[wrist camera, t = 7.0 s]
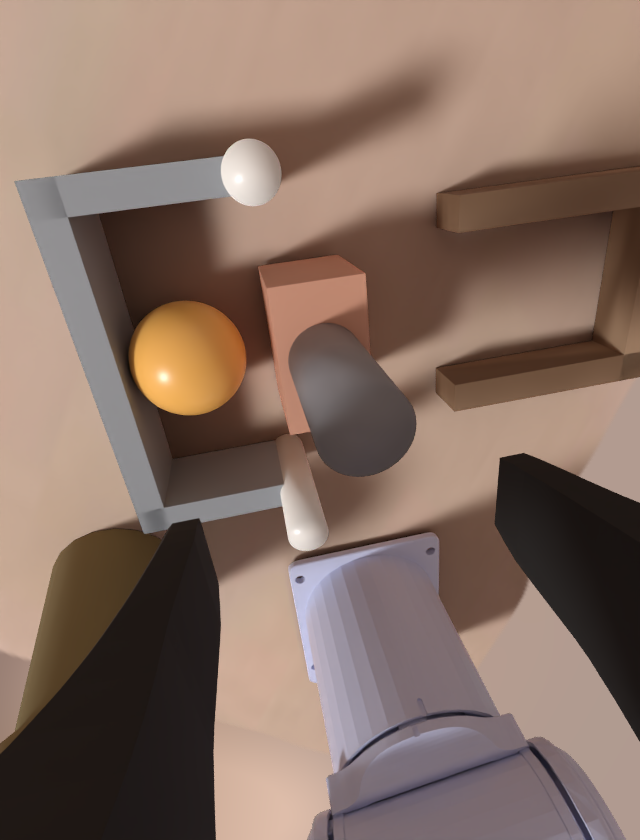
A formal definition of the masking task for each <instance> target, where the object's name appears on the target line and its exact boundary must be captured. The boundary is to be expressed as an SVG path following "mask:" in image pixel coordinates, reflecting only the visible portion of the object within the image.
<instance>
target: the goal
mask: <svg viewBox="0 0 640 840" xmlns="http://www.w3.org/2000/svg"><path fill="white" fill-rule="evenodd" d="M281 176H282V173H281V166H280V162H279V160H278V157H277V156H276V154H275V153H274V151H273V150H272V149H271V148H270V147H269V146H268V145H267V144H265V143H264V142H262V141H259V140H256V139H242V140H239V141H237V142H235V143H234V144H233V145H231V146H230V147H229V148H228V150H227V151H226V153H225V155H224V156H220V157H212V158H204V159H195V160H187V161H179V162H170V163H162V164H154V165H145V166H137V167H129V168H120V169H112V170H104V171H95V172H87V173H79V174H70V175H62V176H54V177H45V178H37V179H29V180H20V181H14V182H15V184H16V187H17V190H18V193H19V195H20V198H21V201H22V204H23V206H24V209H25V212H26V214H27V217H28V220H29V223H30V225H31V228H32V231H33V233H34V236H35V239H36V242H37V244H38V247H39V250H40V252H41V255H42V258H43V261H44V263H45V266H46V269H47V272H48V274H49V277H50V280H51V282H52V285H53V288H54V291H55V293H56V296H57V299H58V301H59V304H60V307H61V310H62V312H63V315H64V318H65V320H66V323H67V326H68V329H69V331H70V334H71V337H72V340H73V342H74V345H75V348H76V350H77V353H78V356H79V359H80V361H81V364H82V367H83V369H84V372H85V375H86V378H87V380H88V383H89V386H90V388H91V391H92V394H93V397H94V399H95V402H96V405H97V408H98V410H99V413H100V416H101V418H102V421H103V424H104V427H105V429H106V432H107V435H108V437H109V440H110V443H111V446H112V448H113V451H114V454H115V456H116V459H117V462H118V465H119V467H120V470H121V473H122V476H123V478H124V481H125V484H126V486H127V489H128V492H129V495H130V497H131V500H132V503H133V505H134V508H135V511H136V514H137V516H138V519H139V522H140V524H141V527H142V530H143V533H144V534H147V533H152V532H157V531H162V530H167V529H168V528H169V527H170V526H171V524H172V523H177V522H182V521H187V520H192V519H197V518H200V521H201V523H202V522H207V521H212V520H217V519H222V518H227V517H232V516H237V515H242V514H247V513H252V512H257V511H262V510H267V509H272V508H277V507H283V512H284V518H285V523H286V529H287V534H288V540H289V542H290V544H291V545H292V546H293V547H294V548H295V549H298V550H301V551H310V550H314V549H317V548H319V547H320V546H322V545H323V544H324V543H325V542H326V540H327V538H328V535H329V530H328V526H327V523H326V520H325V516H324V513H323V509H322V506H321V503H320V499H319V496H318V493H317V489H316V486H315V483H314V479H313V476H312V473H311V469H310V466H309V463H308V459H307V456H306V453H305V449H304V446H303V443H302V441H301V439H300V438H299V437H298V436H296V435H290V434H284V435H281V436H279V437H278V438H277V439H276V440H273V441H267V442H262V443H257V444H251V445H246V446H241V447H235V448H230V449H224V450H219V451H214V452H208V453H203V454H197V455H192V456H187V457H181V458H176V459H173V458H172V455H171V452H170V448H169V445H168V442H167V438H166V435H165V432H164V428H163V425H162V422H161V419H160V415H159V412H158V409H157V406H156V405H155V404H153V403H152V402H151V401H149V400H148V399H147V398H146V397H145V396H144V395H143V394H142V392H141V391H140V390H139V388H138V387H137V385H136V383H135V382H134V379H133V377H132V375H131V371H130V367H129V360H128V352H129V345H130V341H131V338H132V335H133V333H134V329H133V326H132V323H131V319H130V316H129V313H128V309H127V306H126V303H125V299H124V296H123V293H122V289H121V286H120V283H119V280H118V276H117V273H116V270H115V266H114V263H113V260H112V256H111V253H110V250H109V246H108V243H107V240H106V236H105V233H104V230H103V227H102V223H101V220H100V217H99V213H106V212H113V211H121V210H129V209H137V208H144V207H152V206H160V205H168V204H175V203H183V202H191V201H198V200H206V199H214V198H222V197H229V196H231V197H232V198H233V199H235V200H236V201H237V202H239V203H241V204H244V205H247V206H260V205H263V204H265V203H267V202H268V201H270V200H271V199H272V198H273V197H274V196H275V194H276V193H277V191H278V189H279V187H280V183H281Z"/></svg>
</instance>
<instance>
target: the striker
mask: <svg viewBox="0 0 640 840" xmlns="http://www.w3.org/2000/svg"><path fill="white" fill-rule="evenodd" d="M258 270H259V276H260V282H261V288H262V294H263V300H264V306H265V312H266V318H267V324H268V330H269V336H270V342H271V348H272V354H273V360H274V366H275V372H276V378H277V385H278V390H279V394H280V398H281V402H282V406H283V410H284V413H285V417H286V421H287V425H288V429H289V433H290V435H295V434H300V433H305V432H311V434H312V437H313V440H314V443H315V446H316V449H317V451H318V454H319V456H320V457H321V459H322V460H323V461H324V463H325V464H326V465H327V466H328V467H330V468H331V469H333V470H334V471H336V472H338V473H341V474H344V475H348V476H355V477H363V476H370V475H374V474H377V473H380V472H382V471H384V470H386V469H388V468H390V467H391V466H393V465H394V464H395V463H397V462H398V461H399V460H400V459H401V458H402V457H403V456H404V455H405V453H406V452H407V451H408V449H409V448H410V446H411V444H412V442H413V439H414V436H415V432H416V416H415V412H414V409H413V407H412V405H411V403H410V402H409V400H408V399H407V398H406V397H405V396H404V394H403V393H402V392H401V391H400V390H399V388H398V387H397V386H396V385H395V384H394V382H393V381H392V380H391V379H390V378H389V376H388V375H387V374H386V373H385V372H384V370H383V369H382V368H381V367H380V366H379V364H378V363H377V362H376V361H375V360H374V358H373V357H372V356H371V351H370V336H369V320H368V304H367V289H366V273H364V272H363V271H361V270H360V269H358V268H357V267H355V266H354V265H352V264H351V263H349V262H348V261H346V260H345V259H343V258H342V257H341V256H339V255H331V256H324V257H317V258H310V259H303V260H297V261H290V262H283V263H276V264H269V265H262V266H258Z"/></svg>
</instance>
